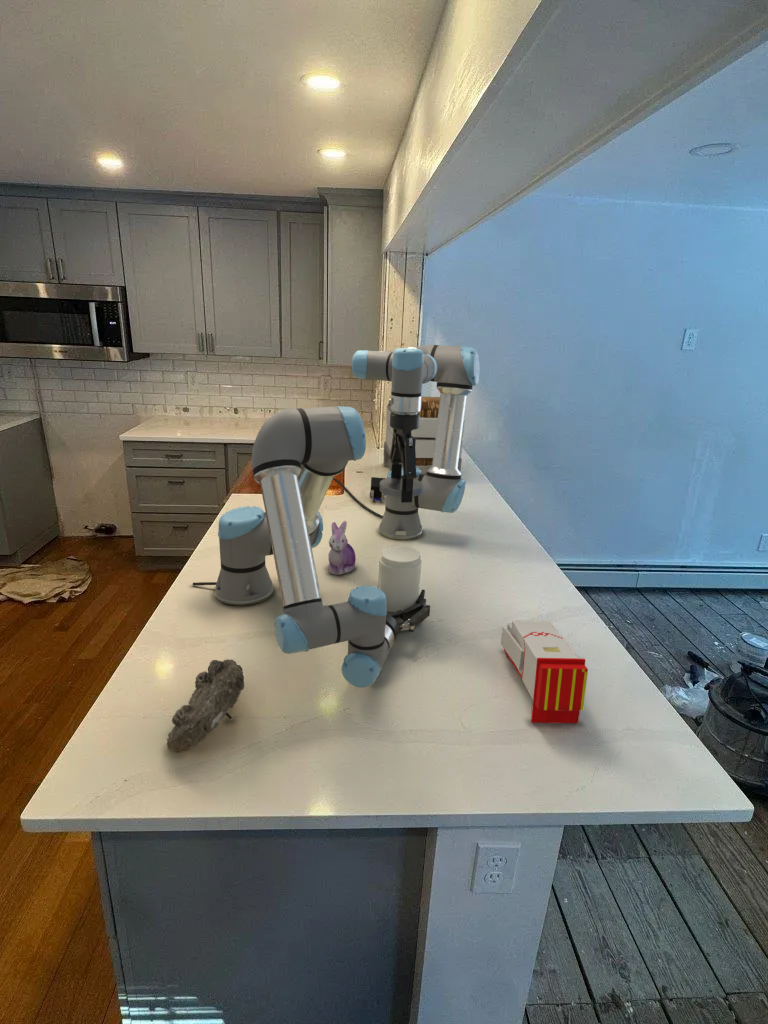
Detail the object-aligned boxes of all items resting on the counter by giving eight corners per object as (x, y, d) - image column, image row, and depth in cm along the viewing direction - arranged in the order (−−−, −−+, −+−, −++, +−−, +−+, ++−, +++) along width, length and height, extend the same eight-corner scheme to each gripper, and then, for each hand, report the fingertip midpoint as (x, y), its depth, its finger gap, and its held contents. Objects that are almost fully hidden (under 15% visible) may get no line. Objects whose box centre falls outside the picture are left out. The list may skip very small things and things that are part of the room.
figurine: (333, 578, 165) (334, 530, 160) (320, 564, 173) (320, 518, 168) (362, 573, 169) (364, 526, 164) (348, 559, 177) (349, 514, 172)
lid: (407, 500, 142) (408, 493, 142) (371, 491, 148) (371, 484, 147) (430, 489, 151) (430, 482, 151) (394, 481, 157) (394, 474, 156)
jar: (368, 616, 146) (371, 550, 139) (401, 606, 151) (405, 542, 145) (392, 635, 138) (396, 565, 132) (425, 623, 144) (430, 556, 137)
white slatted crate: (382, 463, 289) (386, 382, 275) (445, 464, 293) (451, 384, 279) (390, 482, 257) (394, 392, 243) (460, 483, 261) (468, 394, 247)
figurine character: (385, 507, 229) (385, 492, 243) (386, 490, 226) (386, 476, 239) (369, 507, 229) (369, 491, 242) (369, 490, 226) (370, 475, 239)
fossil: (192, 660, 117) (244, 628, 112) (224, 691, 120) (276, 661, 115) (142, 746, 98) (202, 712, 93) (182, 779, 101) (242, 748, 96)
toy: (547, 606, 135) (596, 665, 106) (541, 658, 138) (589, 729, 108) (496, 604, 134) (532, 664, 105) (492, 657, 137) (526, 729, 108)
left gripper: (330, 640, 130) (359, 596, 150) (428, 659, 125) (444, 611, 145) (330, 611, 128) (360, 570, 148) (430, 629, 122) (447, 584, 142)
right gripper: (380, 404, 153) (377, 481, 160) (402, 421, 131) (397, 510, 139) (407, 404, 154) (403, 480, 162) (433, 421, 133) (427, 509, 140)
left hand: (402, 590), depth 146 cm, fingers closed on jar, 10 cm apart
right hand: (400, 494), depth 150 cm, fingers closed on lid, 11 cm apart
